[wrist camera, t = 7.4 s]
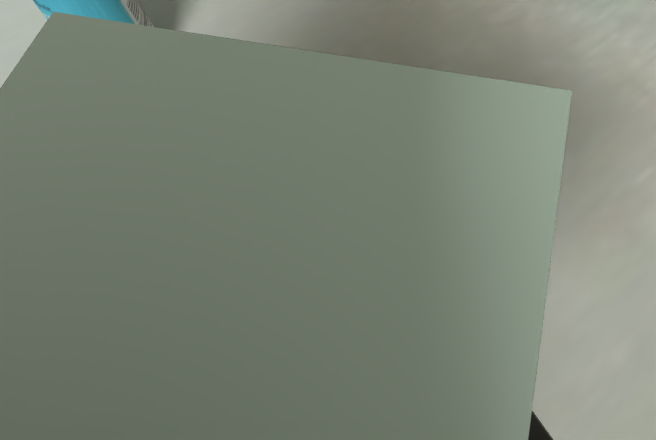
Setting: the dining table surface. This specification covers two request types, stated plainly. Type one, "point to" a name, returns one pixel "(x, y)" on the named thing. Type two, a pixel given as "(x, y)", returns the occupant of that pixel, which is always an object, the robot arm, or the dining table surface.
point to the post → (268, 242)
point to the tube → (97, 9)
